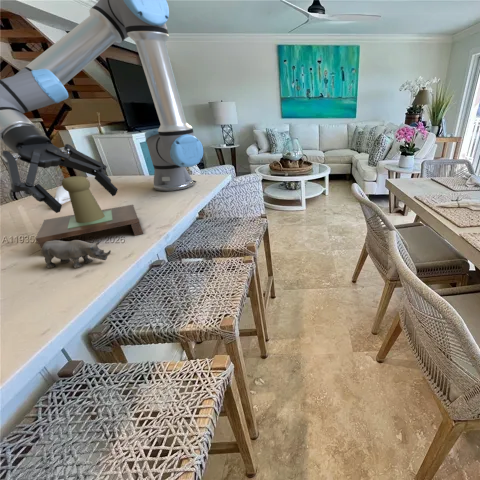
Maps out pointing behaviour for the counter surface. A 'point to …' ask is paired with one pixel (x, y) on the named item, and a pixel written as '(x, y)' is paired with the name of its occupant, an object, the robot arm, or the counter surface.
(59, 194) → the woman figurine
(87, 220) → the cork
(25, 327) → the counter surface
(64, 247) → the rhino figurine
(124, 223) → the shelf
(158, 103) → the robot arm
